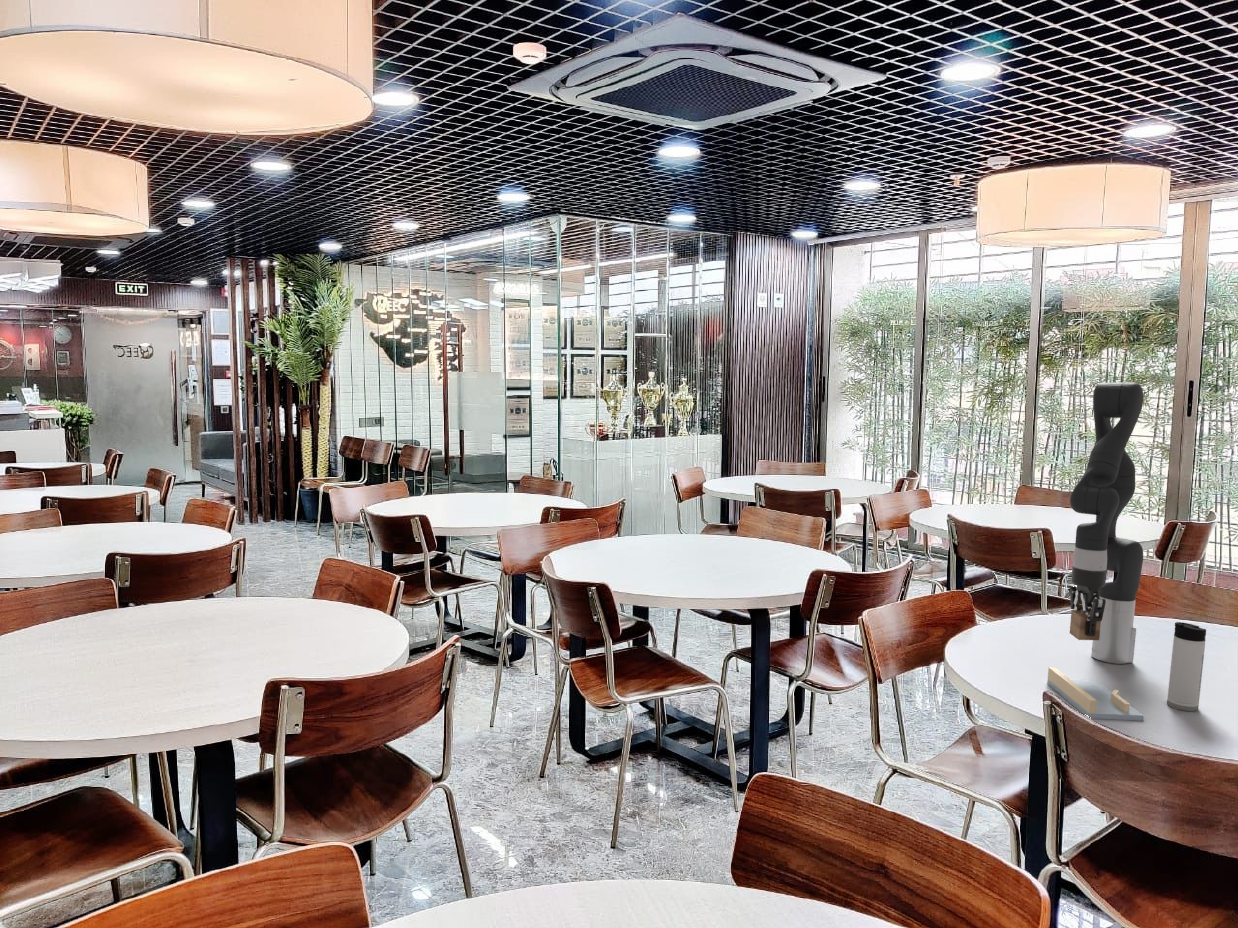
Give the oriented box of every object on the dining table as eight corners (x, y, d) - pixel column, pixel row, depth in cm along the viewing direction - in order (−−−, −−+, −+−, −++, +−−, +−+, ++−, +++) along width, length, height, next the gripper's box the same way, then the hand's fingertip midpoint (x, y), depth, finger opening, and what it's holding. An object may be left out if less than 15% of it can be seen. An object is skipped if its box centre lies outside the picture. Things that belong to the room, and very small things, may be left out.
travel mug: (1159, 701, 214) (1167, 619, 212) (1185, 701, 215) (1194, 619, 213) (1177, 711, 208) (1186, 627, 206) (1204, 711, 209) (1213, 627, 206)
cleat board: (1096, 685, 224) (1097, 669, 224) (1143, 720, 202) (1145, 702, 202) (1047, 683, 225) (1048, 667, 224) (1088, 718, 203) (1090, 700, 202)
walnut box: (1089, 633, 228) (1091, 608, 227) (1099, 640, 223) (1101, 614, 222) (1069, 632, 229) (1071, 607, 228) (1078, 639, 224) (1080, 614, 223)
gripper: (1119, 573, 216) (1114, 641, 219) (1091, 559, 231) (1086, 623, 233) (1087, 572, 217) (1082, 641, 219) (1061, 559, 231) (1056, 623, 233)
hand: (1084, 631), depth 226 cm, fingers closed on walnut box, 5 cm apart
